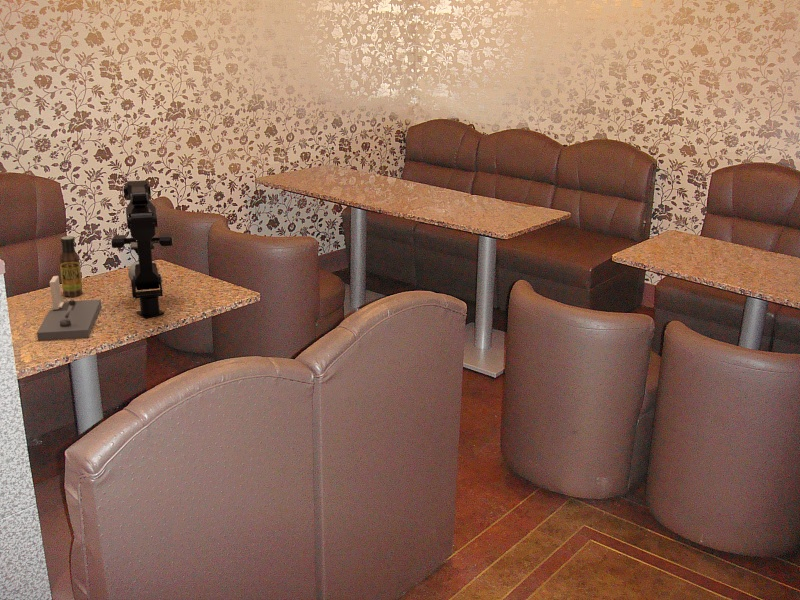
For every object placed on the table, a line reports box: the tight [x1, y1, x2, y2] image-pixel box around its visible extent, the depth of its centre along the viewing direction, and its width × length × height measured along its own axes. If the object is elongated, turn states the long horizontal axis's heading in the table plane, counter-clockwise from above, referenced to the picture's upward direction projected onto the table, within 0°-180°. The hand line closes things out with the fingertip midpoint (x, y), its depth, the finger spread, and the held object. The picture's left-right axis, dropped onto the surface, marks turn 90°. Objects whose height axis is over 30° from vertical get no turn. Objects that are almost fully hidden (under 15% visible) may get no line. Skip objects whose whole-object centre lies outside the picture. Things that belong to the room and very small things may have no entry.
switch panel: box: [36, 299, 102, 341], centre depth 243 cm, size 14×26×4 cm, turn 12°
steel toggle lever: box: [65, 299, 76, 318], centre depth 234 cm, size 2×2×6 cm
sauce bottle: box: [59, 235, 83, 297], centre depth 264 cm, size 6×6×20 cm
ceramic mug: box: [127, 260, 163, 281], centre depth 278 cm, size 11×8×8 cm
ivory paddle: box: [49, 275, 64, 310], centre depth 248 cm, size 3×6×9 cm, turn 12°
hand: (145, 265), depth 259 cm, fingers closed
